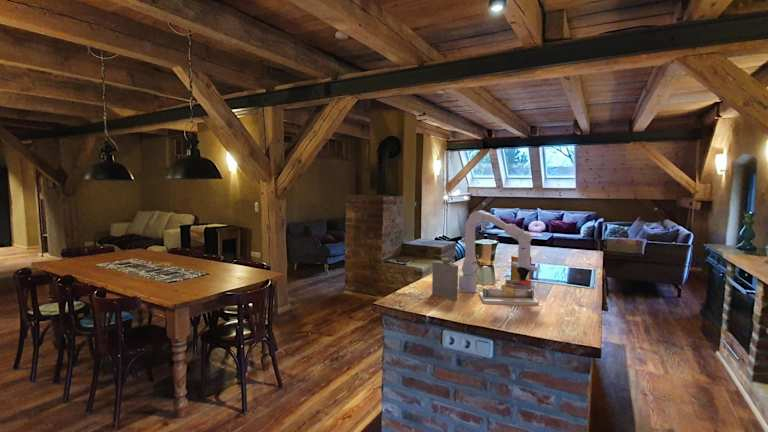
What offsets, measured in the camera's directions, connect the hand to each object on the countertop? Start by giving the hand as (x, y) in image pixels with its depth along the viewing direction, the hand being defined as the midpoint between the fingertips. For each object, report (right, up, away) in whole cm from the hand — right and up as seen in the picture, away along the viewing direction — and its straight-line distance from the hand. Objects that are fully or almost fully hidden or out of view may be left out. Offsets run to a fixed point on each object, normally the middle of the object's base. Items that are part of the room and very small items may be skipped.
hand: (523, 282), depth 195 cm
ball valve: (-8, -9, -1) cm, 12 cm away
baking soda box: (+10, -6, +32) cm, 34 cm away
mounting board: (-8, -9, -1) cm, 12 cm away
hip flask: (-39, -8, +3) cm, 40 cm away
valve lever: (-3, 0, -2) cm, 4 cm away
